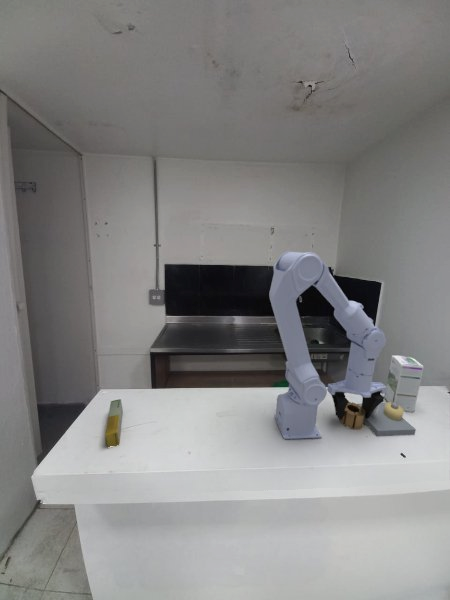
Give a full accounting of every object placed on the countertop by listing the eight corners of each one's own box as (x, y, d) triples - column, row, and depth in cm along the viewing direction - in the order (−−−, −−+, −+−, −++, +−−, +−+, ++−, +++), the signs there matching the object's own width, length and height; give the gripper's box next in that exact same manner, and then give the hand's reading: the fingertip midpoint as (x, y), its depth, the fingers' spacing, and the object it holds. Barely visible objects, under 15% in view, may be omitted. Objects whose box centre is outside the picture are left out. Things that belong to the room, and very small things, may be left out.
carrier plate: (376, 436, 57) (380, 418, 56) (352, 408, 67) (354, 393, 66) (414, 434, 58) (418, 417, 57) (384, 407, 68) (387, 392, 66)
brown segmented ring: (347, 429, 59) (349, 416, 58) (335, 414, 64) (337, 402, 63) (367, 429, 59) (370, 415, 58) (354, 414, 65) (356, 401, 64)
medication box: (112, 413, 63) (110, 400, 62) (123, 411, 64) (121, 398, 63) (106, 449, 52) (104, 434, 51) (120, 446, 53) (118, 431, 52)
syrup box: (414, 412, 66) (426, 366, 62) (391, 409, 67) (401, 363, 64) (404, 400, 71) (414, 356, 68) (382, 397, 72) (391, 354, 69)
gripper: (341, 379, 54) (333, 429, 57) (400, 378, 55) (389, 426, 58) (326, 364, 61) (319, 409, 64) (378, 363, 62) (369, 407, 65)
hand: (351, 416), depth 61 cm, fingers open, 7 cm apart
